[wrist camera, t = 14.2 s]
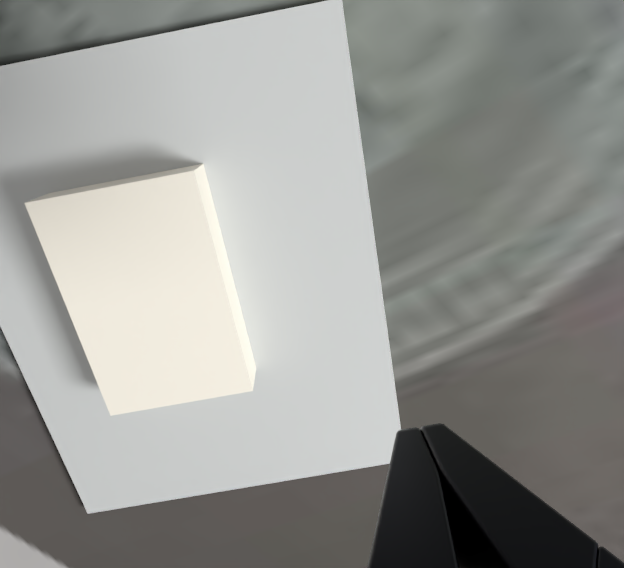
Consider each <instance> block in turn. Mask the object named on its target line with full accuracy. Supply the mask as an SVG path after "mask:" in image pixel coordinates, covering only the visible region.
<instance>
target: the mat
mask: <svg viewBox="0 0 624 568" xmlns="http://www.w3.org/2000/svg"><path fill="white" fill-rule="evenodd" d="M198 164H204V168H205V172H206V176H207V180H208V183H209V187H210V191H211V195H212V199H213V203H214V207H215V210H216V214H217V218H218V222H219V226H220V230H221V234H222V237H223V241H224V245H225V249H226V253H227V257H228V261H229V265H230V268H231V272H232V276H233V280H234V284H235V288H236V292H237V295H238V299H239V303H240V307H241V311H242V315H243V319H244V322H245V326H246V330H247V334H248V338H249V342H250V346H251V349H252V353H253V357H254V361H255V365H256V373H255V380H254V387H253V391H250V392H244V393H239V394H233V395H227V396H221V397H216V398H210V399H204V400H199V401H193V402H187V403H181V404H176V405H170V406H164V407H158V408H153V409H147V410H141V411H135V412H130V413H124V414H118V415H112V416H110V413H109V411H108V408H107V406H106V403H105V401H104V399H103V396H102V394H101V391H100V389H99V386H98V384H97V381H96V379H95V376H94V374H93V371H92V369H91V366H90V364H89V361H88V359H87V357H86V354H85V352H84V349H83V347H82V344H81V342H80V339H79V337H78V334H77V332H76V329H75V327H74V324H73V322H72V319H71V317H70V315H69V312H68V310H67V307H66V305H65V302H64V300H63V297H62V295H61V292H60V290H59V287H58V285H57V282H56V280H55V277H54V275H53V273H52V270H51V268H50V265H49V263H48V260H47V258H46V255H45V253H44V250H43V248H42V245H41V243H40V240H39V238H38V236H37V233H36V231H35V228H34V226H33V223H32V221H31V218H30V216H29V213H28V211H27V208H26V206H25V203H26V202H28V201H31V200H33V199H36V198H38V197H41V196H43V195H46V194H48V193H52V192H57V191H63V190H68V189H73V188H78V187H83V186H89V185H94V184H99V183H104V182H110V181H115V180H120V179H125V178H130V177H136V176H141V175H146V174H151V173H157V172H162V171H167V170H172V169H177V168H183V167H188V166H193V165H198ZM0 327H1V329H2V331H3V333H4V335H5V337H6V340H7V342H8V344H9V346H10V348H11V350H12V352H13V355H14V357H15V359H16V361H17V363H18V365H19V367H20V370H21V372H22V374H23V376H24V378H25V380H26V382H27V385H28V387H29V389H30V391H31V393H32V395H33V397H34V400H35V402H36V404H37V406H38V408H39V410H40V412H41V415H42V417H43V419H44V421H45V423H46V425H47V427H48V430H49V432H50V434H51V436H52V438H53V440H54V442H55V445H56V447H57V449H58V451H59V453H60V455H61V457H62V460H63V462H64V464H65V466H66V468H67V470H68V472H69V475H70V477H71V479H72V481H73V483H74V485H75V487H76V490H77V492H78V494H79V496H80V498H81V500H82V502H83V505H84V507H85V509H86V511H87V513H88V514H89V513H95V512H101V511H107V510H113V509H119V508H125V507H131V506H137V505H143V504H149V503H155V502H161V501H167V500H173V499H179V498H185V497H191V496H197V495H203V494H209V493H215V492H221V491H227V490H233V489H239V488H245V487H251V486H257V485H263V484H269V483H275V482H281V481H287V480H293V479H299V478H305V477H311V476H317V475H323V474H329V473H335V472H341V471H347V470H353V469H359V468H365V467H371V466H377V465H383V464H389V463H390V460H391V455H392V451H393V446H394V441H395V437H396V433H397V431H399V430H401V426H400V419H399V411H398V404H397V397H396V390H395V382H394V375H393V368H392V361H391V353H390V346H389V339H388V332H387V324H386V317H385V310H384V302H383V295H382V288H381V281H380V273H379V266H378V259H377V252H376V244H375V237H374V230H373V222H372V215H371V208H370V201H369V193H368V186H367V179H366V172H365V164H364V157H363V150H362V142H361V135H360V128H359V121H358V113H357V106H356V99H355V92H354V84H353V77H352V70H351V63H350V55H349V48H348V41H347V33H346V26H345V19H344V12H343V4H342V0H327V1H322V2H317V3H312V4H307V5H302V6H297V7H292V8H287V9H282V10H277V11H272V12H267V13H262V14H257V15H252V16H247V17H242V18H237V19H232V20H227V21H222V22H217V23H212V24H207V25H202V26H197V27H192V28H188V29H183V30H178V31H173V32H168V33H163V34H158V35H153V36H148V37H143V38H138V39H133V40H128V41H123V42H118V43H113V44H108V45H103V46H98V47H93V48H88V49H83V50H78V51H73V52H68V53H63V54H58V55H53V56H48V57H43V58H38V59H33V60H28V61H23V62H18V63H13V64H8V65H3V66H0Z"/></svg>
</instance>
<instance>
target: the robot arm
mask: <svg viewBox="0 0 624 568" xmlns="http://www.w3.org/2000/svg"><path fill="white" fill-rule="evenodd" d="M367 568H624V563H623V562H622V561H621V560H620V559H618V558H617V557H616V556H614V555H613V554H612V553H610V552H609V551H608V550H607V549H605V548H604V547H599V545H598V543H597V542H596V541H595V540H593V539H592V538H591V537H589V536H588V535H587V534H585V533H584V532H583V531H582V530H580V529H579V528H578V527H576V526H575V525H574V524H572V523H571V522H570V521H569V520H567V519H566V518H565V517H563V516H562V515H561V514H559V513H558V512H557V511H556V510H554V509H553V508H552V507H550V506H549V505H548V504H546V503H545V502H544V501H543V500H541V499H540V498H539V497H537V496H536V495H535V494H534V493H532V492H531V491H530V490H528V489H527V488H526V487H524V486H523V485H522V484H521V483H519V482H518V481H517V480H515V479H514V478H513V477H511V476H510V475H509V474H508V473H506V472H505V471H504V470H502V469H501V468H500V467H498V466H497V465H496V464H495V463H493V462H492V461H491V460H489V459H488V458H487V457H485V456H484V455H483V454H482V453H480V452H479V451H478V450H476V449H475V448H474V447H472V446H471V445H470V444H469V443H467V442H466V441H465V440H463V439H462V438H461V437H459V436H458V435H457V434H456V433H454V432H453V431H452V430H450V429H449V428H448V427H447V426H445V425H444V424H440V423H439V424H433V425H427V426H422V427H421V429H419V428H416V427H415V428H409V429H403V430H399V431H397V433H396V437H395V441H394V446H393V451H392V455H391V460H390V465H389V469H388V474H387V478H386V483H385V488H384V492H383V497H382V502H381V506H380V511H379V516H378V520H377V525H376V529H375V534H374V539H373V543H372V548H371V553H370V557H369V562H368V567H367Z"/></svg>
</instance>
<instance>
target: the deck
mask: <svg viewBox="0 0 624 568" xmlns="http://www.w3.org/2000/svg"><path fill="white" fill-rule="evenodd" d="M25 206H26V208H27V211H28V213H29V216H30V218H31V221H32V223H33V226H34V228H35V231H36V233H37V236H38V238H39V240H40V243H41V245H42V248H43V250H44V253H45V255H46V258H47V260H48V263H49V265H50V268H51V270H52V273H53V275H54V277H55V280H56V282H57V285H58V287H59V290H60V292H61V295H62V297H63V300H64V302H65V305H66V307H67V310H68V312H69V315H70V317H71V319H72V322H73V324H74V327H75V329H76V332H77V334H78V337H79V339H80V342H81V344H82V347H83V349H84V352H85V354H86V357H87V359H88V361H89V364H90V366H91V369H92V371H93V374H94V376H95V379H96V381H97V384H98V386H99V389H100V391H101V394H102V396H103V399H104V401H105V403H106V406H107V408H108V411H109V413H110V416H112V415H118V414H124V413H130V412H135V411H141V410H147V409H153V408H158V407H164V406H170V405H176V404H181V403H187V402H193V401H199V400H204V399H210V398H216V397H221V396H227V395H233V394H239V393H244V392H250V391H253V387H254V380H255V373H256V365H255V361H254V357H253V353H252V349H251V346H250V342H249V338H248V334H247V330H246V326H245V322H244V319H243V315H242V311H241V307H240V303H239V299H238V295H237V292H236V288H235V284H234V280H233V276H232V272H231V268H230V265H229V261H228V257H227V253H226V249H225V245H224V241H223V237H222V234H221V230H220V226H219V222H218V218H217V214H216V210H215V207H214V203H213V199H212V195H211V191H210V187H209V183H208V180H207V176H206V172H205V168H204V164H198V165H193V166H188V167H183V168H177V169H172V170H167V171H162V172H157V173H151V174H146V175H141V176H136V177H130V178H125V179H120V180H115V181H110V182H104V183H99V184H94V185H89V186H83V187H78V188H73V189H68V190H63V191H57V192H52V193H48V194H46V195H43V196H41V197H38V198H36V199H33V200H31V201H28V202H26V203H25Z"/></svg>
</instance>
